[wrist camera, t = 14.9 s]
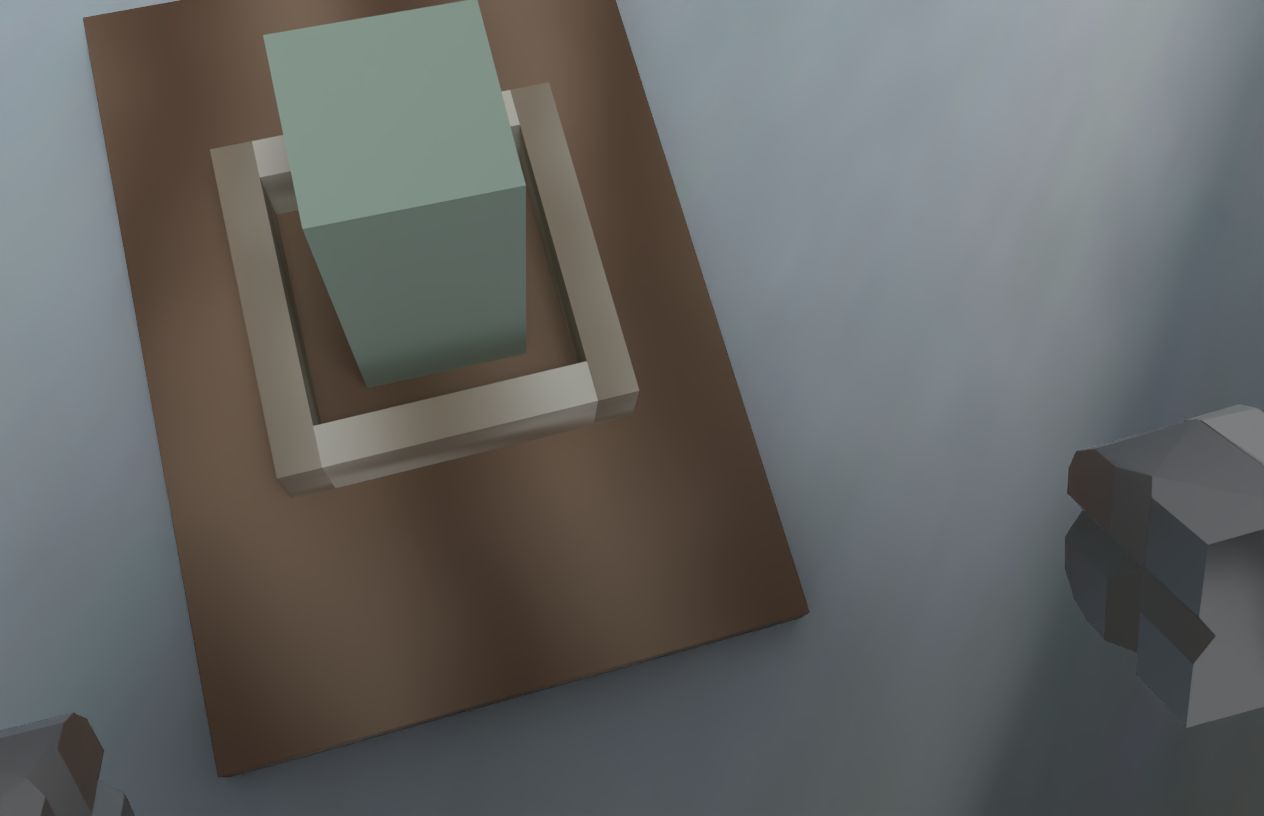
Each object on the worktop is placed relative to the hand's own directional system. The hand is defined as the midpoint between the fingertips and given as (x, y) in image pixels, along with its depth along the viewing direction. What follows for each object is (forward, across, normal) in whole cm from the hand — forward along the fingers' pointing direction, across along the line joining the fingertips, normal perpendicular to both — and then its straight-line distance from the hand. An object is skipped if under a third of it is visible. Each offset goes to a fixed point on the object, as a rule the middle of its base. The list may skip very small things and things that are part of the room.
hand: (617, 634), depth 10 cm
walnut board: (+22, +1, +6) cm, 23 cm away
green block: (+21, +1, +6) cm, 22 cm away
